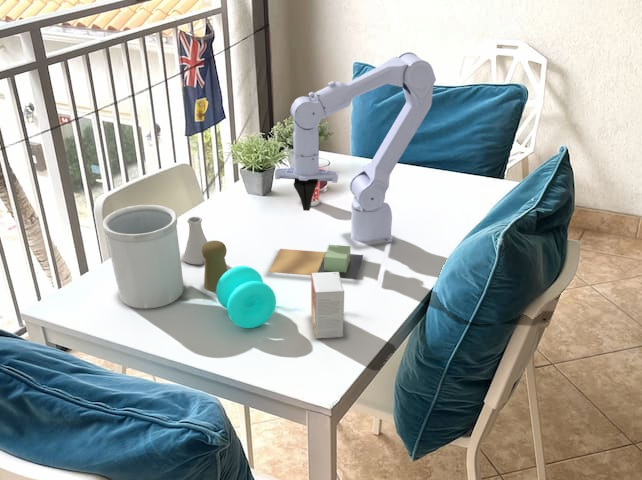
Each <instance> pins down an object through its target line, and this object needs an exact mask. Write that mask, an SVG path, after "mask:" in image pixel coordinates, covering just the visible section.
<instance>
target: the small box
mask: <svg viewBox="0 0 642 480" xmlns="http://www.w3.org/2000/svg"><path fill="white" fill-rule="evenodd" d="M310 277H311V278H310V285H311V287H310V289H311V290H310V295H311V296H310V297H311V298H310V300H311V301H310V302H311V303H310V304H311V306H310V307H311V309H310V312H311V313H310V314H311V315H310V317H311V321H312V326H313V334H314V338H315V340H319V339H336V338H337V339H338V338H343V337H344V315H345V314H344V313H345V312H344V311H345V289H344V286H343V283H342V280H341V279H342V278H340V274H339V272H323V273H311V275H310Z"/></svg>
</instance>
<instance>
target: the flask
mask: <svg viewBox="0 0 642 480" xmlns="http://www.w3.org/2000/svg"><path fill="white" fill-rule="evenodd" d="M202 221H203V218H202V217H199V216H191V217H189V218H188V219H187V221H186V222H187V224H188V228H189V229H188V238H187V242H186V246H185V250H184V253H183V256H182V262H185V263H187V264H189V265H205V258H204V257H203V255H202V247H203V245H204V244H205V243H207V242H208V240H207V237H206V236H205V234H204V231H203V226H202Z"/></svg>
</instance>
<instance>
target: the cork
mask: <svg viewBox="0 0 642 480" xmlns="http://www.w3.org/2000/svg"><path fill="white" fill-rule="evenodd" d="M202 255H203V257H204V258H205V264H204V277H203V287H204V289H205V290H206V291H208V292H212V293H214V292H215V293H216V288H217V284H218V281H219V280H220V278H221V277H222V275H223V274H224V273H225V272H227V271H228V270H229V269H228V267H227V262H226V258H225V257H226V256H227V246H226V244H225V243H224V242H222V241H220V240H209V241H207V243H205V244H204V245H203V247H202Z"/></svg>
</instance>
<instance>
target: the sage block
mask: <svg viewBox="0 0 642 480" xmlns="http://www.w3.org/2000/svg"><path fill="white" fill-rule="evenodd" d="M351 248H352V247H351V246H350V245H341V244H340V245H339V244H328V246H327V249H326V251H325V253H326V254H325V256H324V257H323V258H324V271H334V272H346V271H347V268H348V265H349V262H350V254H351V250H352V249H351Z"/></svg>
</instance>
